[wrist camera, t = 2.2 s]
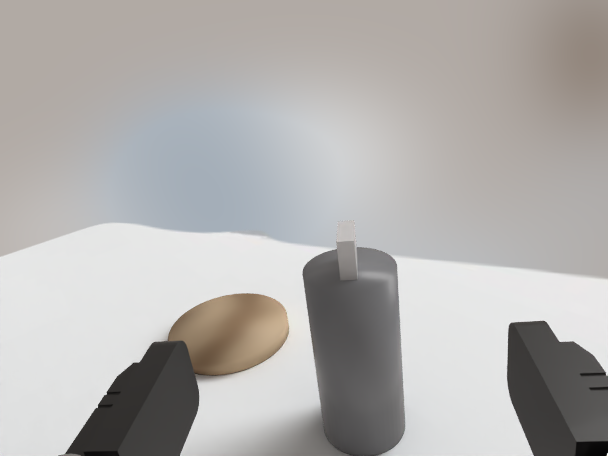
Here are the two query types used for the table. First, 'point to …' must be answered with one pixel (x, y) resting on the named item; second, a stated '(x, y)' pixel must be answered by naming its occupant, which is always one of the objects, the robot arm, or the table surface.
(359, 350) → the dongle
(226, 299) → the coaster
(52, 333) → the table surface
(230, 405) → the table surface
